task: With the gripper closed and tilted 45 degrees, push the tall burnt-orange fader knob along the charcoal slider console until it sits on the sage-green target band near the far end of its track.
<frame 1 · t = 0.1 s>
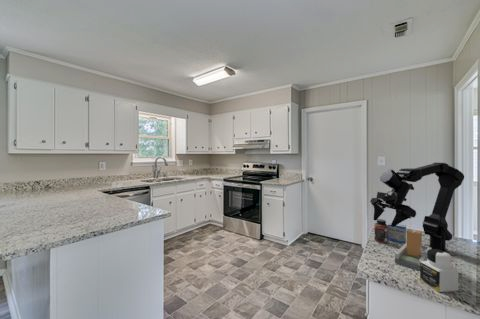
hand: (382, 223, 97), 15 cm above the counter, tool tilted 35°, fingers open, 9 cm apart
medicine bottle: (438, 286, 76), on the counter
fader knob: (414, 242, 94), point 7 cm above the counter, slide at 0.0 cm
supplement bottle: (381, 241, 114), on the counter
medicine box: (396, 241, 115), on the counter
fader console: (413, 259, 94), on the counter
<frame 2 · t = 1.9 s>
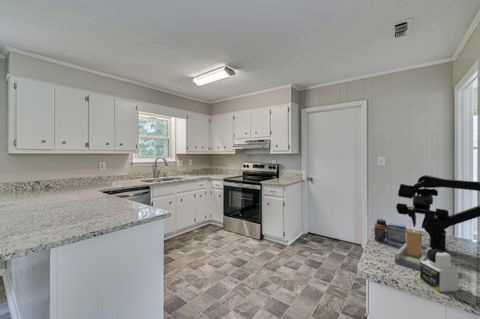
hand: (418, 227, 99), 13 cm above the counter, tool tilted 45°, fingers open, 3 cm apart
nothing on the counter moved.
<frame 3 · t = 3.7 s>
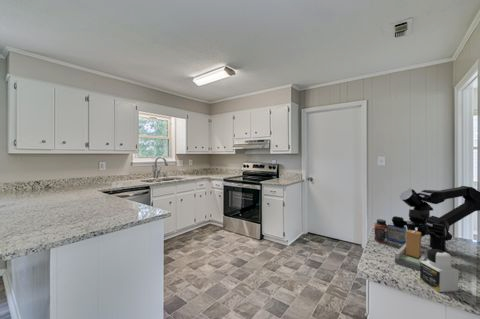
hand: (414, 242, 95), 7 cm above the counter, tool tilted 45°, fingers closed, pressing on fader knob
fader knob: (413, 243, 93), point 7 cm above the counter, slide at 0.9 cm, touching gripper
everything else where it was.
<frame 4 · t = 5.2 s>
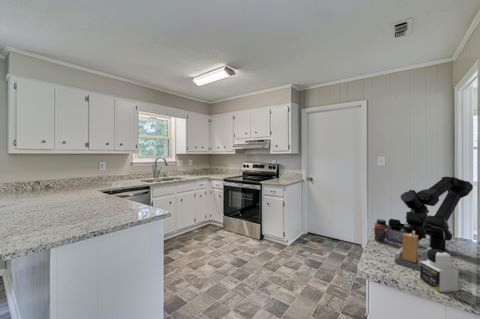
hand: (411, 246, 91), 7 cm above the counter, tool tilted 45°, fingers closed, pressing on fader knob
fader knob: (410, 247, 90), point 7 cm above the counter, slide at 6.7 cm, touching gripper
everything else where it was.
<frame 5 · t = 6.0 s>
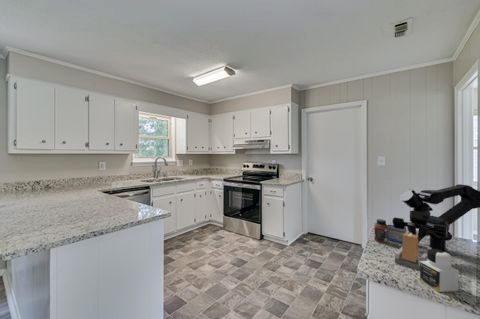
hand: (415, 243, 94), 7 cm above the counter, tool tilted 45°, fingers closed
fader knob: (410, 247, 90), point 7 cm above the counter, slide at 6.7 cm
everything else where it was.
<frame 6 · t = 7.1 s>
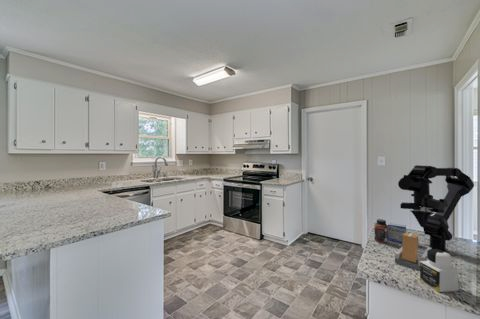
hand: (422, 227, 98), 13 cm above the counter, tool pointing down, fingers closed
nothing on the counter moved.
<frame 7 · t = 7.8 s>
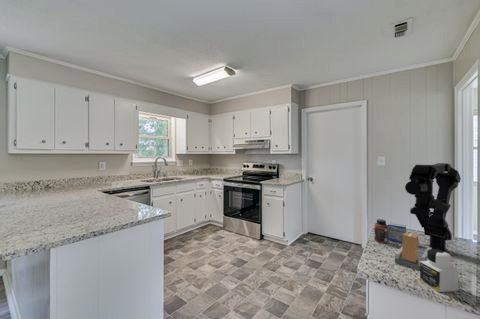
hand: (423, 227, 97), 13 cm above the counter, tool pointing down, fingers closed
nothing on the counter moved.
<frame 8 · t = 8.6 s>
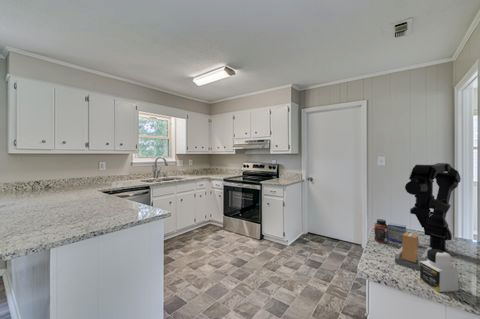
hand: (423, 227, 97), 13 cm above the counter, tool pointing down, fingers closed
nothing on the counter moved.
at the end: fader knob slide at 6.7 cm; medicine box moved 0.3 cm from its start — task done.
